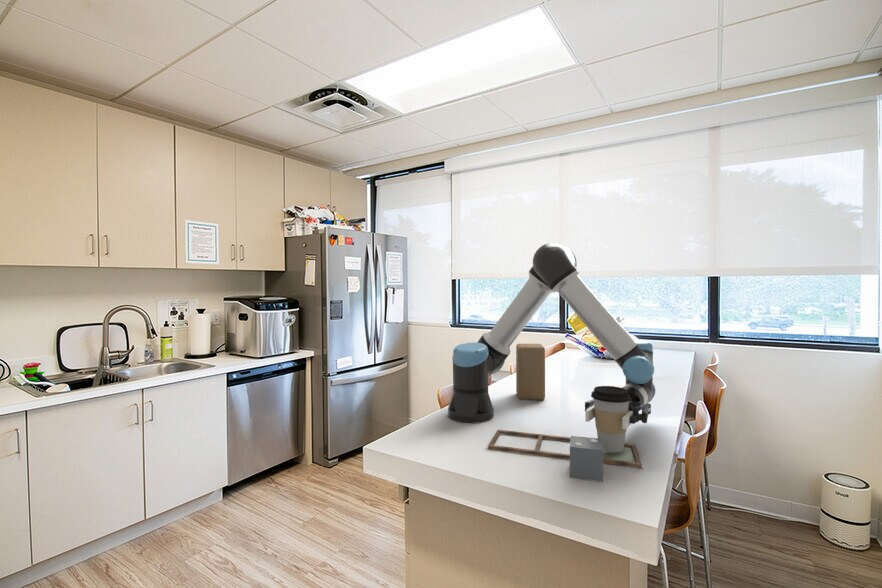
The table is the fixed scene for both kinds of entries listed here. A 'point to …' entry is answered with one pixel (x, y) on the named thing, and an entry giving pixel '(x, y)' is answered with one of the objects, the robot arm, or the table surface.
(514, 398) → the table surface
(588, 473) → the die
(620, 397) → the coffee cup
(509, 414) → the table surface
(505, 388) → the table surface
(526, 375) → the wooden block
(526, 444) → the table surface
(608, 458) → the wooden frame
